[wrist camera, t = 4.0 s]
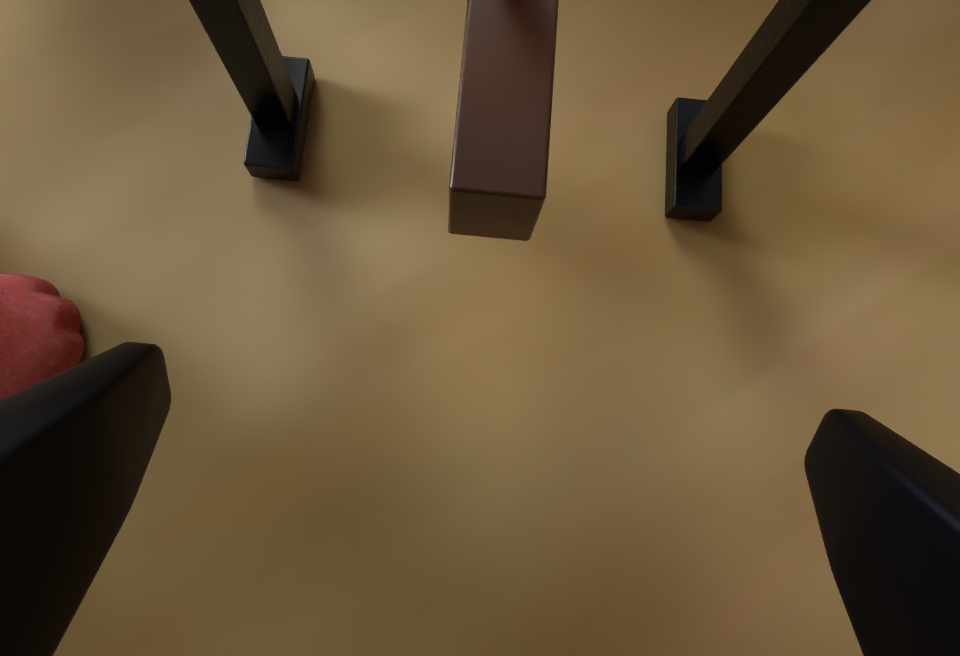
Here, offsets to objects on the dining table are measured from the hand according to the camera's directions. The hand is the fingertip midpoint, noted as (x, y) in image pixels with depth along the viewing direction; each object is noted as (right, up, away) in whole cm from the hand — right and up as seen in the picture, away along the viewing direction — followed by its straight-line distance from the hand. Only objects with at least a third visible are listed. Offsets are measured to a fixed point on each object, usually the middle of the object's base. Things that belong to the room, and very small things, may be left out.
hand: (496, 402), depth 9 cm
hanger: (0, +9, +7) cm, 11 cm away
